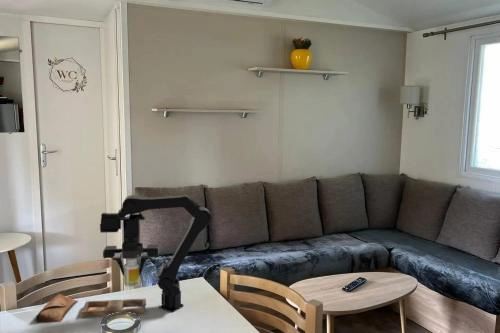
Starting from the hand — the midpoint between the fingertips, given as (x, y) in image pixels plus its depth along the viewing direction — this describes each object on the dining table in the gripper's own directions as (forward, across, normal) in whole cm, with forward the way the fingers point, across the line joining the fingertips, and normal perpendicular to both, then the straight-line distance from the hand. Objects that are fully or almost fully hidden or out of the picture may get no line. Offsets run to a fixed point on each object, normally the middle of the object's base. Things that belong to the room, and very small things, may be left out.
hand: (131, 274), depth 156 cm
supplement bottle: (+4, 0, 0) cm, 4 cm away
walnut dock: (+13, -6, 0) cm, 14 cm away
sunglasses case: (+14, -26, +2) cm, 29 cm away
